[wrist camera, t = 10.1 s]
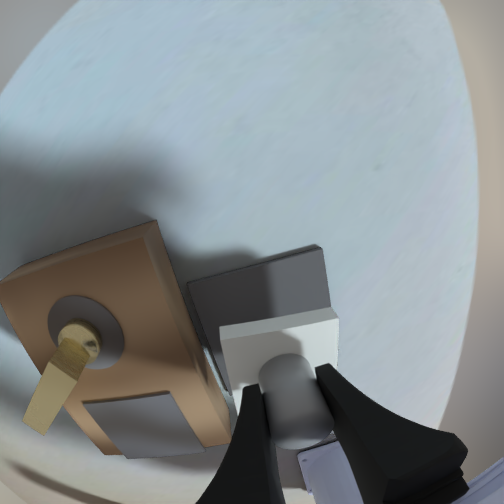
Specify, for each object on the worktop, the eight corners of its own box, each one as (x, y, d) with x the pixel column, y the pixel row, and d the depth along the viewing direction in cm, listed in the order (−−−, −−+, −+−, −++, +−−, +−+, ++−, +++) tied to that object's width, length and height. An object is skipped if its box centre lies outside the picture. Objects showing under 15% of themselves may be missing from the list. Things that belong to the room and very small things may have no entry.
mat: (336, 362, 18) (337, 365, 18) (229, 392, 18) (230, 395, 18) (320, 247, 16) (322, 249, 15) (187, 282, 15) (187, 285, 15)
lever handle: (73, 310, 12) (49, 342, 9) (109, 336, 12) (92, 372, 10) (34, 387, 13) (17, 417, 10) (62, 407, 13) (48, 439, 11)
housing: (229, 410, 19) (233, 447, 16) (114, 426, 18) (106, 459, 15) (156, 220, 14) (141, 238, 11) (21, 265, 14) (-9, 288, 11)
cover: (329, 385, 15) (358, 447, 11) (236, 403, 15) (245, 473, 11) (331, 306, 13) (374, 369, 9) (219, 326, 13) (224, 401, 9)
